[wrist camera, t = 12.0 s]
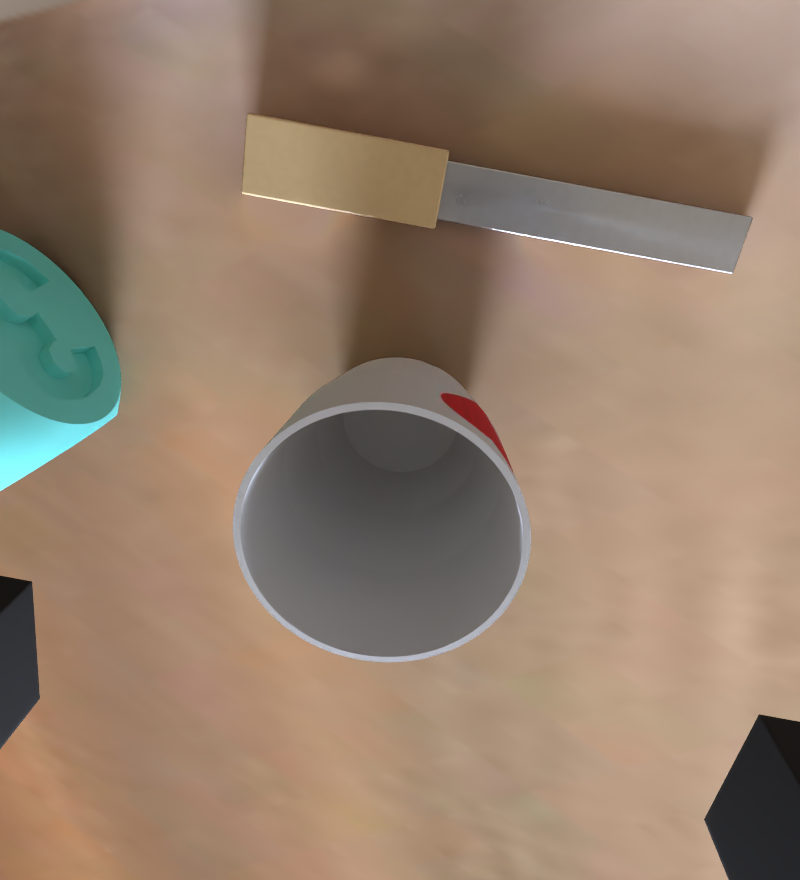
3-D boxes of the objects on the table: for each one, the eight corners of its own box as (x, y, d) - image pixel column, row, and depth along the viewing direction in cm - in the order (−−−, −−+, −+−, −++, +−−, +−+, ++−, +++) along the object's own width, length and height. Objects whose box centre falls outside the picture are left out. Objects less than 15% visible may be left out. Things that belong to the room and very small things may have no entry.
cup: (510, 489, 27) (547, 643, 18) (329, 517, 28) (278, 677, 19) (480, 304, 24) (507, 375, 15) (281, 343, 26) (193, 432, 16)
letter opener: (749, 207, 23) (765, 208, 22) (723, 280, 24) (737, 285, 23) (255, 115, 22) (246, 112, 21) (250, 193, 23) (240, 193, 22)
